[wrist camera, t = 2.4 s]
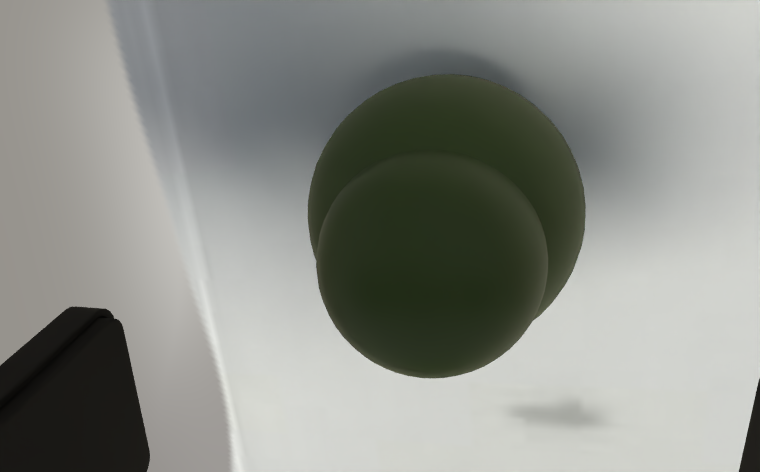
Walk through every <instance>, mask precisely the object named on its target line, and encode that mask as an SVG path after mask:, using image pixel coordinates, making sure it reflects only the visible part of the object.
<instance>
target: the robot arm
mask: <svg viewBox="0 0 760 472" xmlns="http://www.w3.org/2000/svg"><path fill="white" fill-rule="evenodd" d="M149 461H150V453H149V447H148V442H147V437H146V433H145V428H144V423H143V418H142V414H141V409H140V404H139V400H138V396H137V391H136V386H135V381H134V376H133V372H132V367H131V362H130V358H129V353H128V348H127V344H126V339H125V334H124V330H123V326H122V324H121V322H120V321H119V320H117V319H114V316H113V315H112V313H111V312H110V311H109V310H107V309H99V308H87V307H70V308H68V309H66V310H65V311H64V312H62V313H61V314H60V315H59V316H58V317H57V318H55V319H54V320H53V321H52V322H51V323H50V324H48V325H47V326H46V327H45V328H44V329H43V330H41V331H40V332H39V333H38V334H37V335H36V336H34V337H33V338H32V339H31V340H30V341H29V342H27V343H26V344H25V345H24V346H23V347H22V348H20V349H19V350H18V351H17V352H16V353H14V354H13V355H12V356H11V357H10V358H9V359H7V360H6V361H5V362H4V363H3V364H2V365H1V366H0V472H147V469H148V466H149ZM739 472H760V379H759V382H758V387H757V391H756V396H755V400H754V405H753V410H752V414H751V419H750V423H749V428H748V432H747V437H746V442H745V446H744V451H743V455H742V460H741V464H740V469H739Z"/></svg>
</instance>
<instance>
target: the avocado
mask: <svg viewBox="0 0 760 472" xmlns="http://www.w3.org/2000/svg"><path fill="white" fill-rule="evenodd" d="M308 225H309V233H310V240H311V245H312V249H313V252H314V256H315V259H316V268H317V276H318V284H319V289H320V293H321V296H322V300H323V302H324V304H325V307H326V309H327V311H328V314H329V316H330V318H331V319H332V321H333V323H334V324H335V326H336V328H337V329H338V330H339V332H340V333H341V334H342V336H343V337H344V338H345V339H346V340H347V341H348V342H349V343H350V344H351V345H352V346H353V347H354V348H355V349H356V350H357V351H359V352H360V353H361V354H362V355H363V356H365V357H366V358H368V359H369V360H371V361H372V362H374V363H376V364H378V365H380V366H382V367H384V368H386V369H388V370H391V371H394V372H396V373H400V374H403V375H407V376H413V377H419V378H445V377H451V376H457V375H461V374H465V373H468V372H472V371H474V370H477V369H479V368H481V367H484V366H485V365H487V364H489V363H491V362H492V361H494V360H496V359H497V358H498V357H500V356H501V355H503V354H504V353H505V352H506V351H508V350H509V349H510V348H511V347H512V346H513V345H514V344H515V343H516V342H517V341H518V340H519V339H520V338H521V336H522V335H523V334H524V332H525V331H526V330H527V328H528V327H529V326H530V324H531V323H532V321H533V320H534V319H536V318H537V317H538V316H540V315H541V314H542V313H543V312H544V310H545V309H546V308H547V307H548V306H549V305H550V304H551V303H552V302H553V301H554V299H555V298H556V297H557V295H558V294H559V293H560V291H561V290H562V288H563V287H564V286H565V284H566V282H567V280H568V279H569V277H570V275H571V273H572V271H573V269H574V266H575V263H576V260H577V258H578V255H579V252H580V249H581V246H582V241H583V236H584V231H585V196H584V188H583V184H582V180H581V176H580V172H579V169H578V166H577V164H576V161H575V159H574V156H573V154H572V152H571V149H570V148H569V146H568V144H567V143H566V141H565V139H564V137H563V136H562V134H561V133H560V132H559V130H558V129H557V128H556V127H555V125H554V124H553V123H552V122H551V120H550V119H549V118H548V117H546V116H545V115H544V114H543V113H542V112H541V111H540V110H539V109H538V108H537V107H536V106H535V105H534V104H532V103H531V102H529V101H528V100H527V99H525V98H524V97H522V96H521V95H520V94H518V93H516V92H514V91H512V90H510V89H508V88H506V87H504V86H502V85H499V84H497V83H494V82H491V81H489V80H485V79H481V78H477V77H472V76H465V75H455V74H442V75H430V76H424V77H418V78H413V79H410V80H407V81H404V82H400V83H397V84H395V85H392V86H390V87H388V88H386V89H384V90H382V91H380V92H378V93H376V94H375V95H373V96H372V97H370V98H369V99H367V100H366V101H364V102H363V103H362V104H361V105H360V106H358V107H357V108H356V109H355V110H354V111H353V112H351V113H350V114H349V115H348V116H347V117H346V118H345V119H344V120H343V122H342V123H341V124H340V125H339V126H338V127H337V128H336V130H335V131H334V133H333V134H332V136H331V138H330V139H329V141H328V142H327V144H326V146H325V147H324V149H323V151H322V153H321V156H320V158H319V160H318V162H317V164H316V168H315V171H314V174H313V178H312V182H311V186H310V193H309V200H308Z"/></svg>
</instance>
